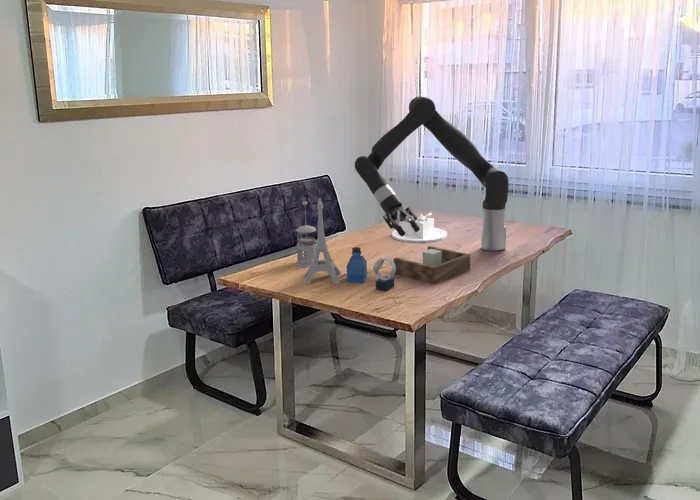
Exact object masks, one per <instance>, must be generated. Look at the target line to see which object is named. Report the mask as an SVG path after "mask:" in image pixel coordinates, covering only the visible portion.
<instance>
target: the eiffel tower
mask: <svg viewBox="0 0 700 500" xmlns="http://www.w3.org/2000/svg"><path fill="white" fill-rule="evenodd" d="M316 205H317V207H316V209H317V213H318V214H317V216H318V217H317V227H318V228H317V241H316V244H317V245H316V254H315V258H314V260H312V262H311V266H310V267H308V270H307V272H305V279H304V280H303V282H302V285H311V284H310V283H312V281H311V280H312V278H313V276H314V275H315V274H317V273H319V272H324V273H326V274H328V275H329V276H330V277H331V279H332V285H340V284H341V280H340V279H339V277H338V275H339V274H341V275H342V271H341V270H340V268H339V267H338V266H337V264H335V262H334V259H333V258H332V257H331V255H330V252H329V249H328V244H327V242H326V235H325V228H324V218H323V208H324V206H323V201H322V200H321V198H318V202H317V204H316ZM320 253H323V259H319V258H320V256H321V255H320Z"/></svg>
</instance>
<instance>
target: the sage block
mask: <svg viewBox="0 0 700 500" xmlns="http://www.w3.org/2000/svg"><path fill="white" fill-rule="evenodd" d="M441 263H442V251H439V250H434V249H429V250H428V249H426V250H423V251H422V264H426V265H430V266H436V265H439V264H441Z"/></svg>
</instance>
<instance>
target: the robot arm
mask: <svg viewBox="0 0 700 500" xmlns="http://www.w3.org/2000/svg"><path fill="white" fill-rule="evenodd" d="M421 126H424V127H425V129H427V130H428V131H429V132H431V134H432V135H433V136H434V137H435V138H436V140H437V141H438V142H439V144H440V145H441V146H442V147H443V148H444V149H445V150H447V152H448V153H449V154H450V155H451V157H453V158H455V160H457V161H458V162H460V164H462V165H463V166H464V167H466V169H469V171H471V173H472V174H473V175H474V176H475V178H477V180H478V181H479V182H480V184H482V186H483V187H484V189H485V196H484V200H482V207H481V208H482V209H481V211H482V213H481V214H482V215H481V243H480V247H481V249H482V250H484V251H490V252H491V251H492V252H496V251H497V252H498V250H499V251H503V250H506V247H507V226H506V223H505V222H506V204H507V202H508V197H509V196H508V195H509V177H508V175H507V173H506V172H505V171H503V170H501V169H499V168H497V167H495V166H494V165H493V164H491V163H490V162H489V161H488V160H487V159H485V157H484V156H483V155H482V154H481V153H480V151H479V150H478V148H477V146H476V145H475V144H474V142H472V140H471V139H470V137H468V136H467V135H466V134H465V133H464V132H463V131H462V130H460V129H459V128H458V127H457V126H455V125H454V124H453V123H451V122H449V121H448V120H447V119H445V118H444V117H443V116H442V115H441V114H440V113H439V112H438V111H437V107H436V104H435V102H434V101H433V99H431V98H429V97H426V96H416V97H414V98H412V99H411V100H410V102H409V104H408V113H407V114H406V115H405V117H404V118H403V119H401V121H399V123H398V124H396V125H395V126H394V127H392V128H391V129H390V130H388V131H387V132H385V134H384V135H382V137H381V138H379V140H378V141H376V143H374V145H373V146H372V147H371V152H370V153H369V155H368V156H366V155H361V156H359V157H357V158H356V160H355V161H354V169H355V171H356V173H357V174H358V175H359V176H360V178H361V179H362V180H363V182H365V184H366V185H367V187H368V188H369V191H370V192H371V193H372V195H373V196H374V198H375V201H376V203H378V205H379V206H380V207H381V209H382V211H383V212H384V215H383V217H382V218H383V219H384V221H385V223H386V224H387V225H388V228H389V229H394V230H397V232H398V233H399V235H400V236H404V235H405V231H404V230H403V228H402V227H401V221H404V222H408V223H409V224H411V226H412V228H413V229H414V231H415V232H418V231H419V230H420V228H419V226H418V225H417V223H416V222H415V220H416V219H417V217H418V215H416V213H415V212H414V211H413V210H412V208H411V207H410V206H407V207H406V208H404V207H403V202H402V201H401V199H400V197H399V196H398V195H397V193H396V192H395V191H394V189H393V188H392V187H391V186H390V185H389V183H388V182H387V180H386V179H385V177H383V176H382V174H381V173H380V172H379V169H380V168H381V166H382V165H383V163H384V162H385V160H386V159H387V158H388V157H389V156H390V155H391V154H392V153H394V152H395V150H396V149H397V148H398V147H399V146H400V145H401V144H402V143H403V142H404V141H405V140H406V139H407V138H408V137H409V136H410V135H411V134H412V133H414V132H415V131H416V130H417V129H418V128H419V127H421ZM409 219H410V220H411V221H410V220H409Z"/></svg>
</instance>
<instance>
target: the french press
mask: <svg viewBox="0 0 700 500" xmlns="http://www.w3.org/2000/svg"><path fill="white" fill-rule="evenodd" d="M301 205H303V206H306V205H308V201H306V200H305V201H302V204H301ZM306 216H307V215H306V211H304V221H305V222H304V224H305V225H301V226H298V227H297V228H296V229H295V231H296V232H297V235H299V234H300V238H299V237H298V238H297V241H296V242H297V243H296V257H297V258H296V259H297V261H296V262H295V264H294V265H295V266H298V267H301V268H306V267H307V268H310V266H311V262H312V260H314V258H315V254H316V245H317V241H316V238H315V237H310V236H309V237H308V236H307V235H308V234H311V233H312V234H313V233H314V232H316V231H317V228H316V227H314V226H312V225H307V217H306ZM304 234H305V237H304V236H303V235H304Z"/></svg>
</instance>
